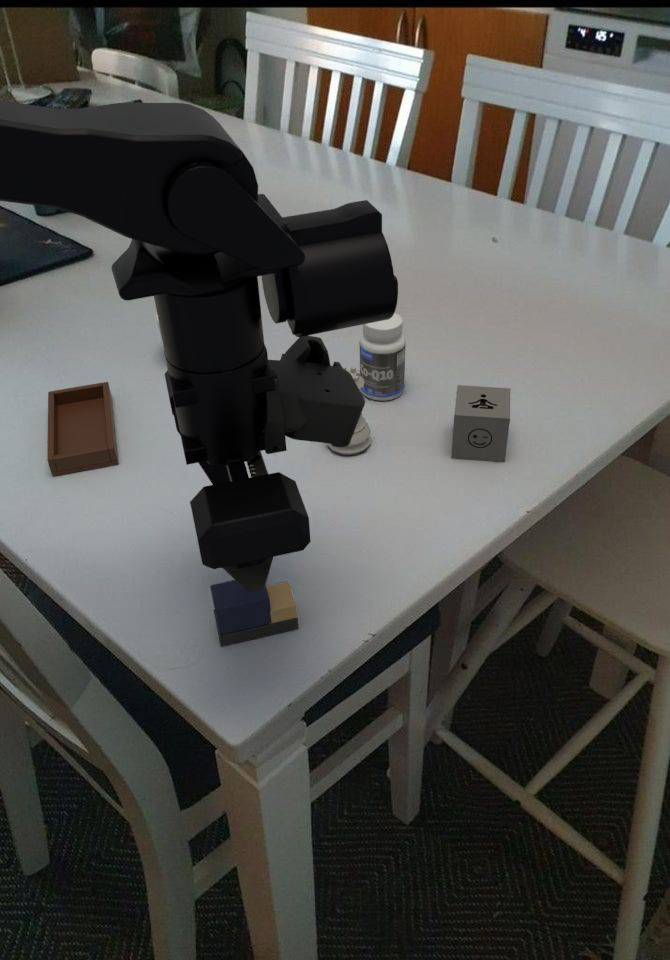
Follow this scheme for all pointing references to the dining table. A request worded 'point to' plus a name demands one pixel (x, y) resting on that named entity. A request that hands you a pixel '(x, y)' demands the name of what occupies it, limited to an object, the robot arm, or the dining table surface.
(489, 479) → the dining table surface
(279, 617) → the stacked boxes
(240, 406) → the robot arm
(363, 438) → the rook chess piece
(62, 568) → the dining table surface
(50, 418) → the tray
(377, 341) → the pill bottle
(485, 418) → the dice cube
